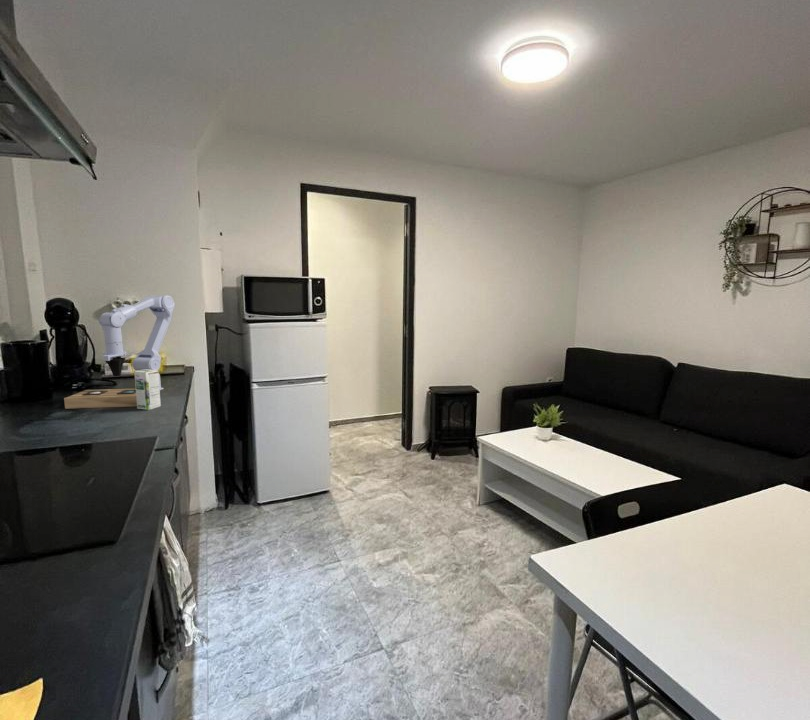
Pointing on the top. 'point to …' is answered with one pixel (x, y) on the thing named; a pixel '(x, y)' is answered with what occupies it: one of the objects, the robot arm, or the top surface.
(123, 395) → the oak board
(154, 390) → the syrup box
